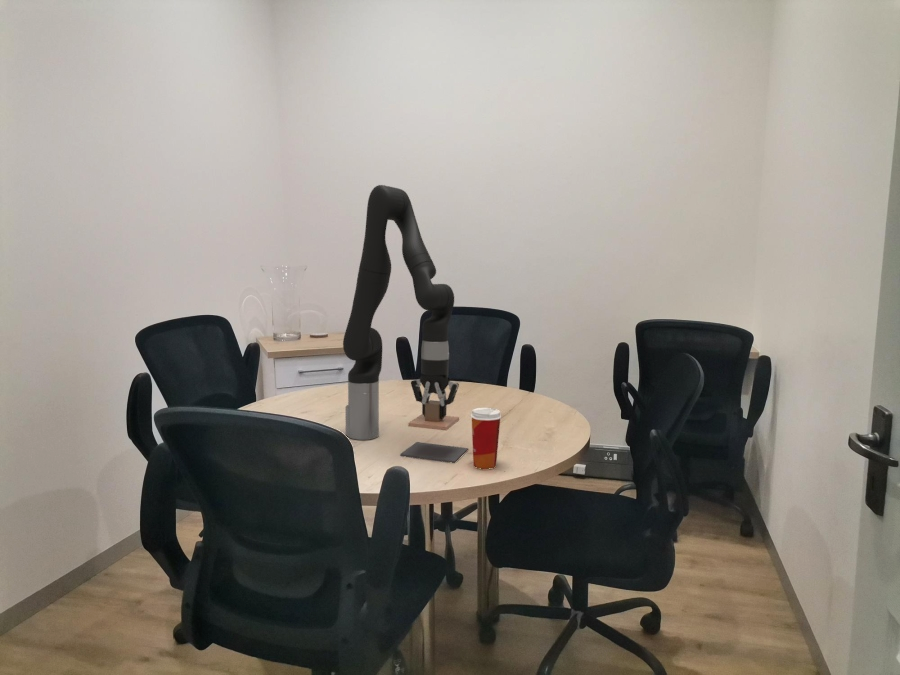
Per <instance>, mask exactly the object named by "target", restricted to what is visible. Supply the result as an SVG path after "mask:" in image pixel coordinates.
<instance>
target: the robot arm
mask: <svg viewBox="0 0 900 675" xmlns="http://www.w3.org/2000/svg"><path fill="white" fill-rule="evenodd" d="M366 206H367V207H366V216H365V218H366V220H365V232H364V239H363V246H362V252H361V256H360V257H361V258H360V263H359V267H358V271H357V279H356V286H355V290H354V291H355V292H354V296H353V300H352V307H351V310H350V316H349V319H348V322H347V325H346V329H345V332H344V335H343V340H342V347H343V352H344V354H345V355H346V357H347V358H348V359H349V360H352V361H355V362H354V365H353V366H352V368H351V369H350V370H349V372H348V373H347V374H348V376H347V380H348V382H347V390H348V391H347V393H348V394H347V395H348V396H347V398H348V399H347V401H348V402H347V405H346V406H345V436H346V435H347V436H348V438H350V439H352V440H357V441H367V440H368V441H369V440H374V439H377V438H378V437H379V435H380V432H379V431H380V428H379V426H380V424H379V423H380V422H379V421H380V412H379V411H380V410H379V409H380V407H379V406H380V402H379V400H380V398H379V397H380V391H379V390H380V389H379V387H380V386H379V384H380V374H381V372H382V367H383V340H382V337H381V334H380V333H379V331H378V330H377V329H376V328H373V327H372V324H373V323H372V322H373V319H374V317H375V314H376V312H377V311H378V308H379V306H380V305H381V303H382V301H383V299H384V297H385V296H386V294H387V291H388V288H389V284H390V279H391V273H392V260H391V257H390V253H389V250H388V247H387V246H388V245H387V243H386V242H387V240H386V232H387V226H388V221H393V223H395V225H396V226H397V228H398V229H399V231H400V235H401V240H402V242H401V243H402V245H401V252H402V254H401V255H402V258H403V261H404V264H405V265H406V267H407V270H408V272H409V274H410V276H411V278H412V283H413V284H412V285H413V290H414V296H415V300H416V302H417V304H418V306H420V308H421V309H423V310H424V311H432V313H431V316H430V317H428V318H427V319H425V320H424V321H423V323H422V343H421V349H420V350H421V355H420V356H421V362H420V364H421V365H420V371H421V372H420V373H421V375H420V378H418V379H417V378H416V379H413V380H411V381H410V384H411V385H410V386H411V388H412V392H413V395H414V398H415V402H418V403H421V406H422V407H421V409H422V411H421V412H422V413H421V414H423V415H424V417H425V403H426V402H428V401H430V400H431V399H430V398H431V395H432V394H436V395H437V398H438V401H440V405H441V406H440V419H443V418H444V417H445V416H447V408H448V407H447V406H448V405H451V404H453V402H454V400H455V397H456V395H457V392H458V389H459V387H460V383H458V382H453V381H451V380H450V377H449V367H450V366H449V362H450V361H449V359H450V352H449V350H450V346H449V324H450V320H451V317H452V313H453V310H454V304H455V294H454V291H453V289H452V287H451V286H450V285H449V284H446V283H433V282H432V279H433V278H434V277H435V276H436V275H437V268H436V266H435V264H434V262H433V259H432V258H431V255H430V253H429V252H428V249H427V247H426V244H425V242H424V240H423V237H422V234H421V232H420V228H419V225H418V224H419V223H418V222H417V218H416V216H415V211H414V207H413V205H412V202H411V199H410V197H409V195H408V194H407V191H405V190H403V189H401V188H398V187H395V186H394V187H393V186H388V185H385V184H384V185H383V184H378V185H376V186H374V187H373V188H372V190H371V192H370V193H369V197H368V200H367V205H366ZM421 385H422V387H423V388H424V391H423V393H422V390H421ZM448 386H449V387H448ZM447 387H448V389H449V394H448V396H447V391H446V388H447Z"/></svg>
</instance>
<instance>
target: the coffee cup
mask: <svg viewBox="0 0 900 675" xmlns="http://www.w3.org/2000/svg"><path fill="white" fill-rule="evenodd" d="M469 417H471V436H472V437H471V438H472V459H473V460H472V461H473V462H472V463H473V467H474V466H475V467H477V468H476V469H478V468H481V469H480V470H483V469H489V468H493V469H495V468H496V467H495V466H497V460H498V459H497V458H498V449H499V448H498V447H499V438H500V427H501V426H500V425H501V418H502V415H501V411H500V410H499V409H496V408H493V407H492V408H490V407H478V408H477V407H476V408H474V409H472V410H471V414H470V416H469ZM475 467H474V468H475ZM494 467H495V468H494ZM489 470H490V469H489Z"/></svg>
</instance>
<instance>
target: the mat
mask: <svg viewBox="0 0 900 675" xmlns="http://www.w3.org/2000/svg"><path fill="white" fill-rule="evenodd" d="M467 450H468V451H469V447H461V446H460V447H459V446H454V445H453V446H451V445H444V444H438V443H437V444H436V443H429V442H422V441H421V442H420V441H416V442H415V443H413V444H412V445H410V446H408V448H406V449H405V450H404V451H402V452H401V453H400V454H399V456H400V457H404V456H406V457H407V458H412V457H413V458H414V459H419V458H420V460H429V461H435V462H436V461H437V462H442V461H443V462H442V463H444V462H445V463H450V462H452V463H451V464H456V463H457V462H458V461H459V460H460V459H461V458H462V457H463V456H464V455H465V454H466V453H467V452H468V451H467ZM466 451H467V452H466ZM465 452H466V453H465ZM464 453H465V454H464ZM463 454H464V455H463ZM462 455H463V456H462ZM461 456H462V457H461ZM460 457H461V458H460ZM459 458H460V459H459ZM458 459H459V460H458ZM457 460H458V461H457ZM456 461H457V462H456ZM455 462H456V463H455Z"/></svg>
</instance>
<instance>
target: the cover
mask: <svg viewBox="0 0 900 675" xmlns="http://www.w3.org/2000/svg"><path fill="white" fill-rule="evenodd" d="M440 406H441V405H440V401H439V400H432V399H429V401H428V402H426V403H425V417H424V415H423V414H422V413H421V414H420V415H418V416H416V417H415V418H414V419H412V420H410V421H409V422H407V424H408V427H411V428H412V427H413V428H419V429H427V430H428V429H429V430H437V431H438V430H439V431H448V430H449V429H450V428H452V426H455V424H457V423H458V422H459V421H460V416H451V415H446V416H445V417H444V418H443V419H440Z"/></svg>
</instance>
